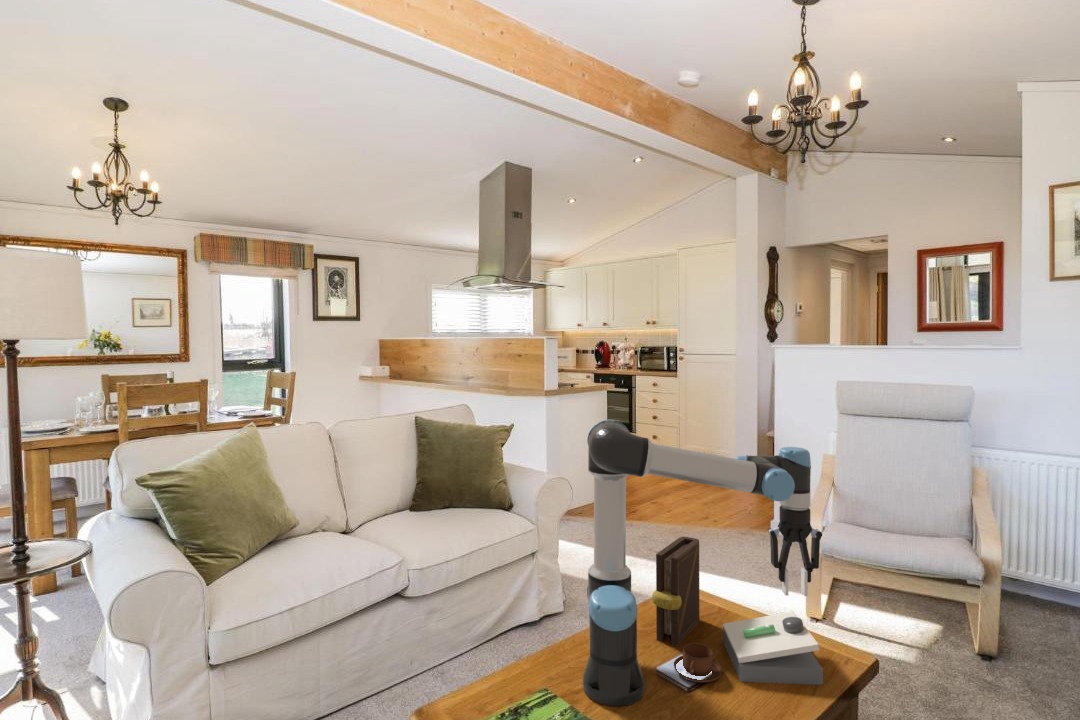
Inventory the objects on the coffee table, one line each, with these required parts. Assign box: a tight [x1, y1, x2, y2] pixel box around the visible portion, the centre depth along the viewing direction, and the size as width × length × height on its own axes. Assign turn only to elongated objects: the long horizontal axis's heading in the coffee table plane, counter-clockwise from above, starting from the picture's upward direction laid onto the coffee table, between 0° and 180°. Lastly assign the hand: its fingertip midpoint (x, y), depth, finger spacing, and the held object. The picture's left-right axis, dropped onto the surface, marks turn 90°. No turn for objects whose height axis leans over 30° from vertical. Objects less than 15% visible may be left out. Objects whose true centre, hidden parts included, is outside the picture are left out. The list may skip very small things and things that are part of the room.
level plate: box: [722, 611, 820, 663], centre depth 156 cm, size 20×18×4 cm
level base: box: [722, 627, 824, 686], centre depth 156 cm, size 20×20×4 cm
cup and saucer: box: [673, 642, 723, 684], centre depth 151 cm, size 12×12×6 cm
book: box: [651, 536, 700, 647], centre depth 173 cm, size 22×8×25 cm, turn 144°
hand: (794, 593), depth 155 cm, fingers open, 4 cm apart
